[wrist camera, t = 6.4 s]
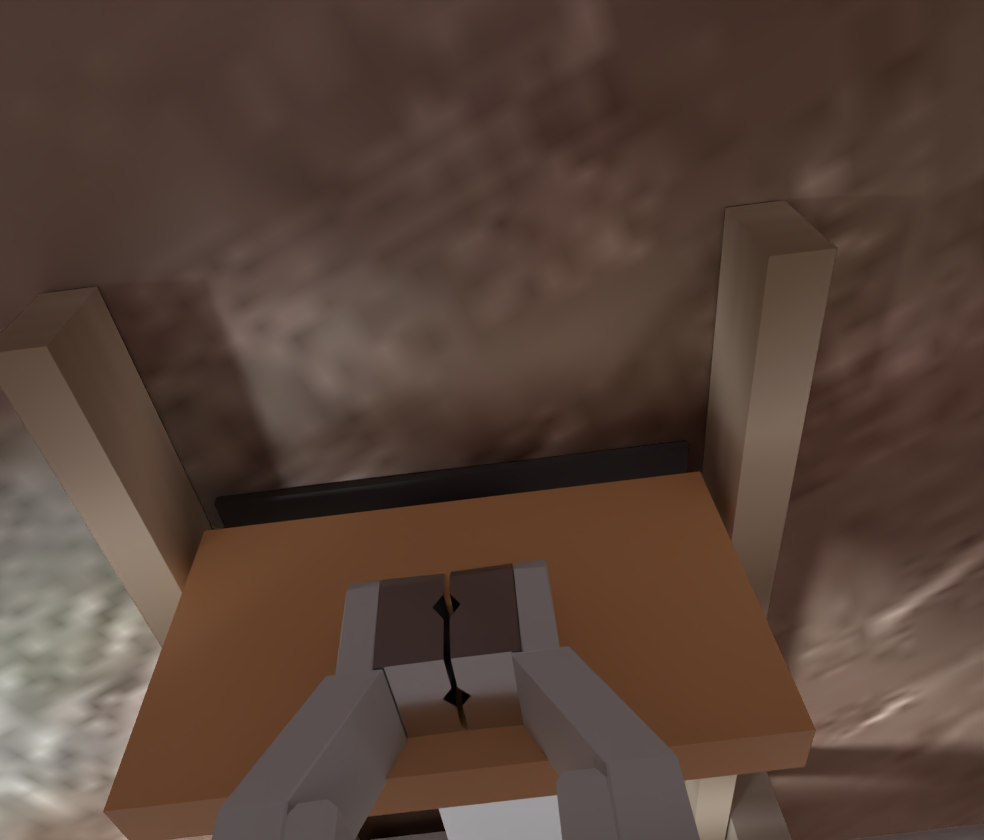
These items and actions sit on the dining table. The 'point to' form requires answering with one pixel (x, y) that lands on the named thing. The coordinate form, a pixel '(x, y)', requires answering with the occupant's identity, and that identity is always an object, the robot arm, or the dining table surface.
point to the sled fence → (468, 753)
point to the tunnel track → (181, 520)
